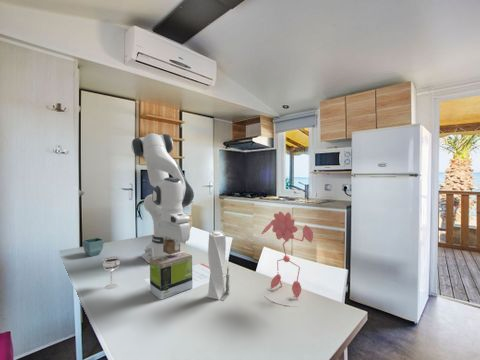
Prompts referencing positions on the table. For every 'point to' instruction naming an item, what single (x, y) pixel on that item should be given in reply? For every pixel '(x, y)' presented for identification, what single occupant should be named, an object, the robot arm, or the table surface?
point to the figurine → (285, 230)
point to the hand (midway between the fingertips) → (171, 248)
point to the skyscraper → (217, 266)
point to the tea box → (170, 274)
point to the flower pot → (93, 246)
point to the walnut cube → (169, 246)
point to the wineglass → (111, 268)
